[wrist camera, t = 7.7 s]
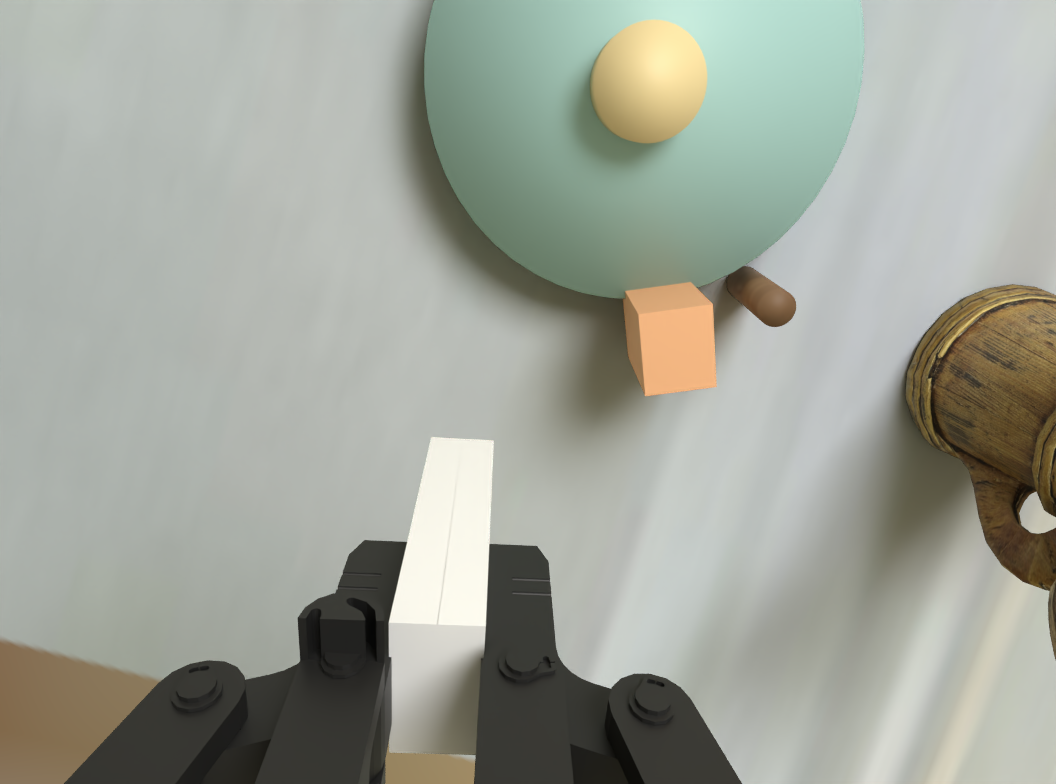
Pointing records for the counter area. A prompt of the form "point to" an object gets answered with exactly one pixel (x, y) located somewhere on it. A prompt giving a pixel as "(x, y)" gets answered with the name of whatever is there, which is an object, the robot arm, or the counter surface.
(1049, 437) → the wooden mug
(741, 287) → the dowel
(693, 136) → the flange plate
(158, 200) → the counter surface
